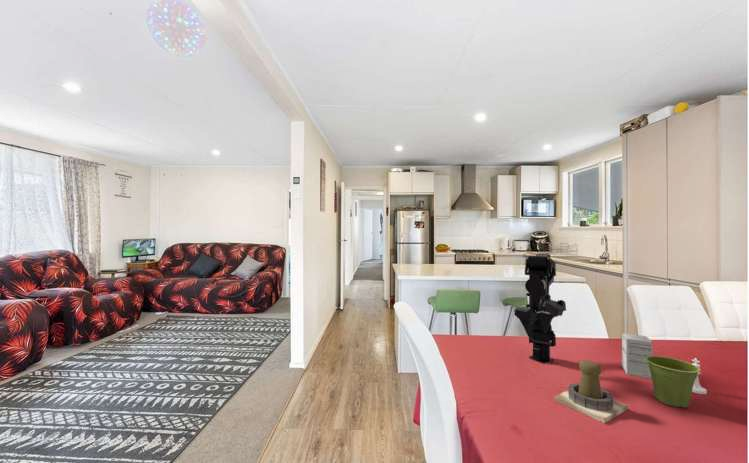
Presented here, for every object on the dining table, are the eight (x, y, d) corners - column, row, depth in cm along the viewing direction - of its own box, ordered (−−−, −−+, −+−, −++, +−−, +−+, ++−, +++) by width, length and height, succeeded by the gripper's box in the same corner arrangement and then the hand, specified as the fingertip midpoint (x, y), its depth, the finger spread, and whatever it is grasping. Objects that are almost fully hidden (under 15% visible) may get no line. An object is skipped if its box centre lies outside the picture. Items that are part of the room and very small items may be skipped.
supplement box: (621, 366, 118) (621, 332, 118) (647, 371, 115) (647, 335, 115) (625, 374, 112) (625, 338, 112) (653, 379, 108) (653, 341, 108)
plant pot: (707, 417, 85) (707, 375, 86) (649, 405, 92) (649, 365, 92) (693, 398, 95) (693, 360, 96) (641, 388, 102) (641, 352, 102)
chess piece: (703, 395, 98) (703, 362, 98) (682, 388, 102) (682, 357, 102) (709, 391, 100) (709, 359, 100) (688, 385, 104) (688, 354, 104)
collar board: (578, 389, 100) (578, 378, 100) (627, 409, 89) (627, 396, 89) (554, 400, 94) (554, 387, 94) (604, 423, 83) (604, 408, 83)
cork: (608, 404, 89) (608, 365, 90) (591, 407, 88) (591, 367, 88) (588, 394, 95) (588, 357, 95) (572, 396, 94) (572, 359, 94)
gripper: (544, 297, 102) (544, 346, 102) (575, 292, 112) (575, 337, 111) (513, 291, 112) (513, 336, 112) (545, 287, 121) (544, 329, 121)
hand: (537, 334), depth 114 cm, fingers open, 9 cm apart
